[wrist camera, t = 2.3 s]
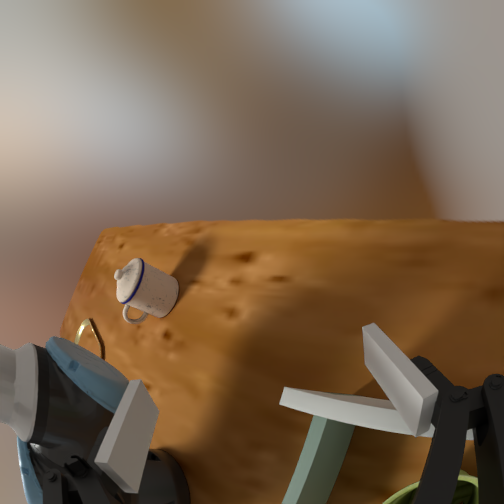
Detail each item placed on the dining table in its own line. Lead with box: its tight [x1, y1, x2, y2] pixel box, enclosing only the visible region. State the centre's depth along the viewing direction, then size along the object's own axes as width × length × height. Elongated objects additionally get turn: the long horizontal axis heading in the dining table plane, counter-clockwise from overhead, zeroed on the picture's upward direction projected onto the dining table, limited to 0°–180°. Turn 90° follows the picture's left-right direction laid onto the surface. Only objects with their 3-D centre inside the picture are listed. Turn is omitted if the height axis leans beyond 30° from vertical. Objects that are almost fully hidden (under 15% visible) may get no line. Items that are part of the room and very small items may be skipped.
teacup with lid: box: [114, 258, 179, 324], centre depth 51 cm, size 12×9×12 cm
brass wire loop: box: [74, 319, 103, 359], centre depth 72 cm, size 19×35×2 cm, turn 57°
